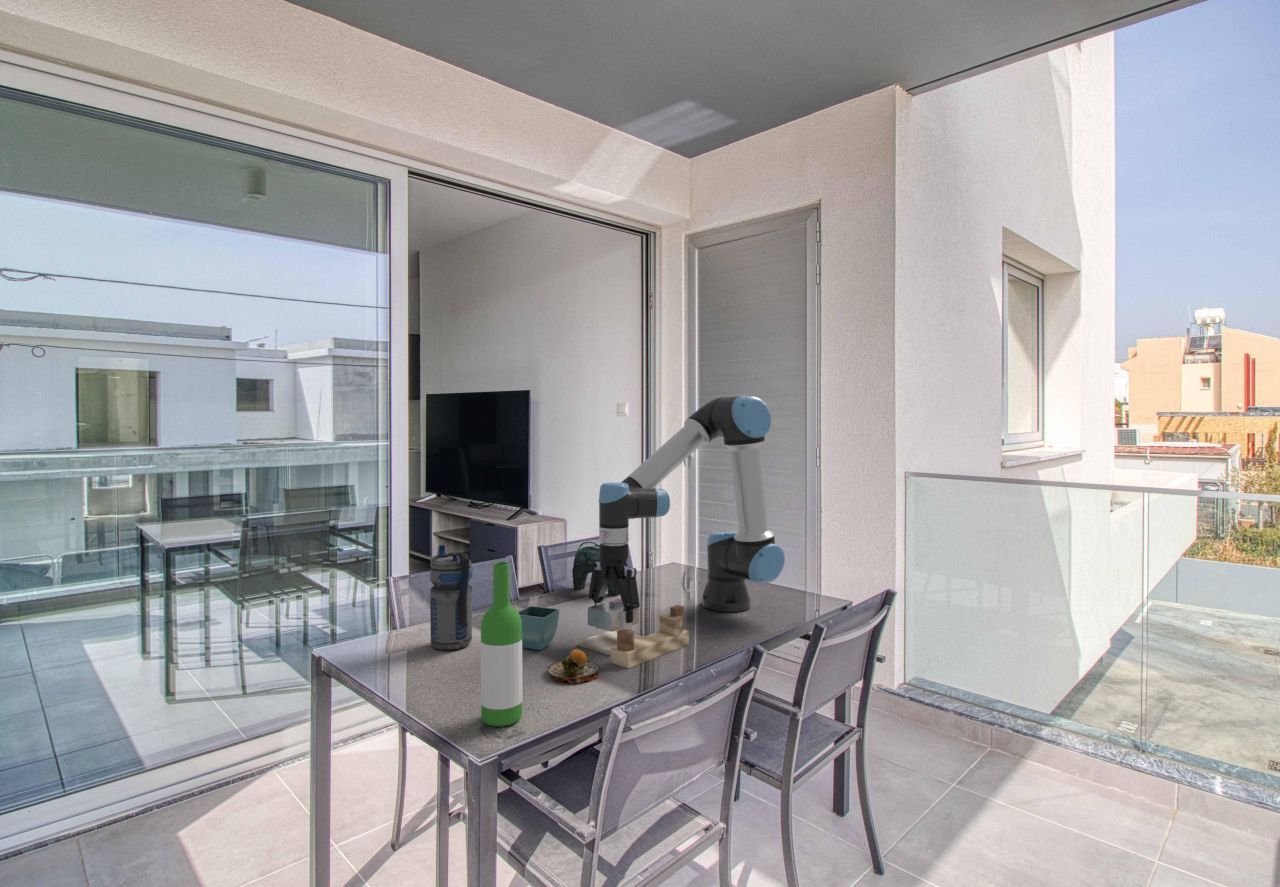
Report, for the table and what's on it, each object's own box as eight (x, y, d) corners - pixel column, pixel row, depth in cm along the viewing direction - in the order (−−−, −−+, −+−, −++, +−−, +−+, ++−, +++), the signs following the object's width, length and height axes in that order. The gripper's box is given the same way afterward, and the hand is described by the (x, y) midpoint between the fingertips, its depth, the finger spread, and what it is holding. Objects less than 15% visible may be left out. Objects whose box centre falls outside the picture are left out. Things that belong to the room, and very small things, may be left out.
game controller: (627, 594, 225) (627, 534, 224) (616, 598, 219) (616, 536, 219) (579, 586, 235) (579, 529, 235) (568, 590, 230) (568, 531, 229)
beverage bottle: (448, 657, 164) (447, 554, 163) (421, 644, 173) (421, 547, 172) (484, 647, 171) (484, 548, 170) (457, 635, 180) (457, 542, 180)
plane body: (672, 639, 178) (672, 603, 177) (689, 644, 174) (689, 607, 174) (611, 662, 160) (611, 622, 160) (628, 668, 157) (628, 627, 156)
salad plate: (573, 662, 161) (573, 631, 161) (610, 674, 154) (610, 641, 154) (535, 677, 152) (535, 644, 152) (572, 690, 145) (572, 655, 144)
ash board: (615, 632, 183) (615, 628, 183) (649, 642, 176) (649, 638, 176) (577, 645, 173) (577, 641, 173) (611, 655, 165) (611, 651, 165)
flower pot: (560, 643, 175) (560, 608, 174) (544, 654, 166) (544, 617, 166) (529, 639, 178) (529, 605, 177) (512, 650, 169) (512, 614, 169)
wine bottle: (497, 732, 124) (496, 569, 123) (472, 720, 129) (471, 563, 128) (530, 719, 130) (530, 563, 129) (505, 707, 135) (505, 557, 134)
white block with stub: (614, 616, 181) (614, 595, 180) (638, 623, 175) (638, 601, 175) (587, 624, 173) (587, 602, 173) (611, 631, 167) (611, 608, 167)
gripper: (574, 540, 178) (574, 626, 178) (634, 550, 164) (634, 643, 164) (594, 536, 183) (594, 620, 184) (655, 546, 169) (654, 636, 170)
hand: (613, 631), depth 174 cm, fingers closed on white block with stub, 8 cm apart
